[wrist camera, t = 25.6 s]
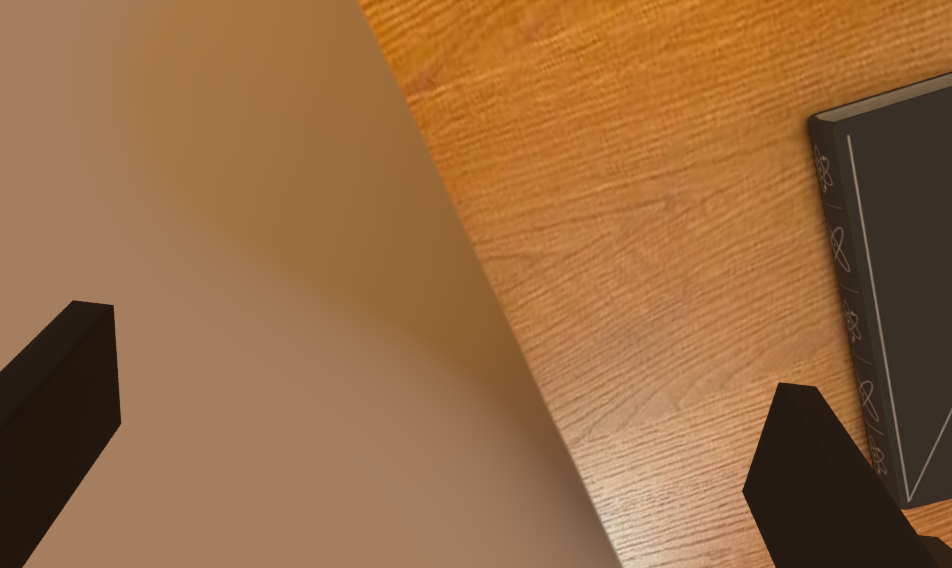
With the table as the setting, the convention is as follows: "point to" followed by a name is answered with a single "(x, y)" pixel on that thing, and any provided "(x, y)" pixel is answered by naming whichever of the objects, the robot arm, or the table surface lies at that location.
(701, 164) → the table surface
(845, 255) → the book
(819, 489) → the robot arm
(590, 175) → the table surface
